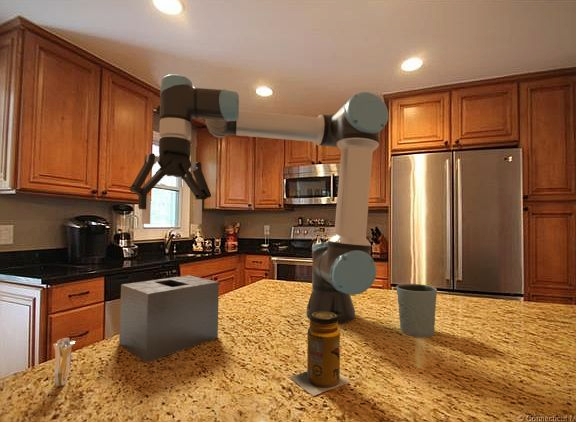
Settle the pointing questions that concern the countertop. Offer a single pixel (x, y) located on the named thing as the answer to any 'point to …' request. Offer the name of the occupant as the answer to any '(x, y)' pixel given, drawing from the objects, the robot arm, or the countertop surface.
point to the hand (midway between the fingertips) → (173, 224)
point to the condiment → (322, 355)
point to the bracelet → (62, 371)
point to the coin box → (168, 315)
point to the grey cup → (417, 309)
